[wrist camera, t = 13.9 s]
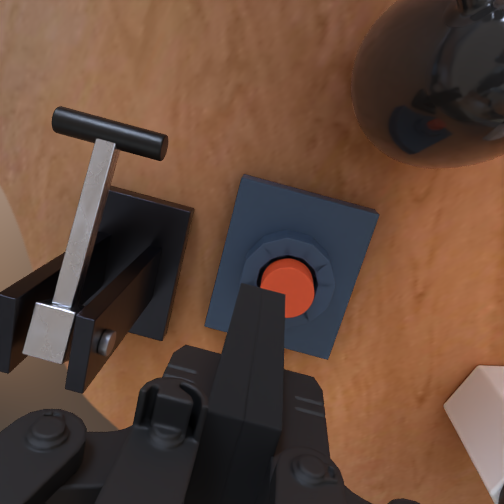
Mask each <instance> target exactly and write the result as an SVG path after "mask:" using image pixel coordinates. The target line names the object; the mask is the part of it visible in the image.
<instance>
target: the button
mask: <svg viewBox="0 0 504 504" xmlns="http://www.w3.org/2000/svg"><path fill="white" fill-rule="evenodd" d="M260 288H263V289H267V290H271V291H275V292H278V293H282V294H286V295H285V318H292V317H296V316H299V315H301V314H303V313H304V312H305V311H307V310H308V309H309V307H310V306H311V304H312V302H313V300H314V294H315V293H314V284H313V278H312V274H311V272H310V270H309V269H308V268H307V266H306V265H304V264H303V263H302V262H300V261H298V260H295V259H291V258H283V259H279V260H276V261H274V262H272V263H271V264H270V265H269V266H268V267H267V268H266V269H265V271H264V273H263V275H262V280H261V286H260Z"/></svg>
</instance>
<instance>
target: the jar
mask: <svg viewBox="0 0 504 504" xmlns="http://www.w3.org/2000/svg"><path fill="white" fill-rule="evenodd" d="M443 407H444V409H445V411H446V413H447V415H448V417H449V419H450V421H451V422H452V424H453V426H454V428H455V430H456V432H457V434H458V436H459V438H460V439H461V441H462V443H463V445H464V447H465V449H466V451H467V453H468V455H469V456H470V458H471V460H472V462H473V464H474V466H475V468H476V470H477V472H478V473H479V475H480V477H481V479H482V481H483V483H484V485H485V487H486V489H487V490H488V492H489V494H490V496H491V498H492V500H493V502H494V504H504V366H489V365H478V366H477V367H476V368H475V369H474V370H473V371H472V372H471V374H470V375H469V376H468V377H467V378H466V379H465V381H464V382H463V383H462V384H461V385H460V386H459V388H458V389H457V390H456V391H455V392H454V393H453V394H452V396H451V397H450V398H449V399H448V400H447V401H446V402H445V404H444V406H443Z"/></svg>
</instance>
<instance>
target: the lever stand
mask: <svg viewBox="0 0 504 504" xmlns="http://www.w3.org/2000/svg"><path fill="white" fill-rule="evenodd" d="M193 213H194V208H191V207H187V206H183V205H180V204H176V203H172V202H169V201H165V200H161V199H158V198H154V197H150V196H147V195H143V194H139V193H136V192H132V191H128V190H124V189H121V188H117V187H113V186H110V189H109V193H108V197H107V200H106V204H105V208H104V211H103V215H102V219H101V222H100V226H99V230H98V234H97V237H96V241H95V245H94V248H93V252H92V256H91V259H90V263H89V267H88V270H87V274H86V278H85V282H84V285H83V289H82V293H81V296H80V300H79V304H81V305H85V307H84V308H83V309H82V310H81V311H80V312H79V313H78V314H77V315H76V318H75V325H74V331H73V338H72V345H71V351H70V358H69V365H68V371H67V378H66V385H65V389H67V390H71V391H74V392H78V393H82V394H83V393H84V391H85V390H86V389H87V387H88V386H89V384H90V383H91V382H92V380H93V379H94V378H95V376H96V375H97V374H98V372H99V371H100V369H101V368H102V367H103V365H104V364H105V363H106V361H107V360H108V359H109V357H110V356H111V355H112V353H113V352H114V350H115V349H116V348H117V346H118V345H119V344H120V342H121V341H122V340H123V338H124V337H125V335H126V334H127V333H128V332H130V333H133V334H137V335H141V336H144V337H148V338H152V339H155V340H159V341H163V339H164V337H165V335H166V334H167V329H168V325H169V320H170V316H171V311H172V307H173V302H174V298H175V293H176V289H177V284H178V280H179V276H180V271H181V267H182V262H183V258H184V253H185V249H186V244H187V240H188V235H189V231H190V226H191V222H192V217H193ZM64 256H65V252H64V253H63V254H61V255H59V256H58V257H56V258H55V259H53V260H51V261H50V262H48V263H47V264H45V265H43V266H42V267H40V268H39V269H37V270H35V271H34V272H32V273H30V274H29V275H27V276H26V277H24V278H23V279H21V280H19V281H18V282H16V283H14V284H13V285H11V286H10V287H8V288H6V289H5V290H3V291H2V292H0V372H4V373H10V372H11V371H12V370H13V369H14V368H15V367H16V366H17V365H18V364H19V363H20V362H22V361H23V360H24V359H25V358H26V357H27V356H28V355H25V354H22V350H23V346H24V343H25V339H26V335H27V332H28V328H29V324H30V321H31V317H32V313H33V310H34V306H35V303H36V302H39V301H43V300H47V299H51V298H53V296H54V293H55V289H56V285H57V281H58V278H59V274H60V270H61V267H62V263H63V259H64Z"/></svg>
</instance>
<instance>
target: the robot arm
mask: <svg viewBox="0 0 504 504" xmlns="http://www.w3.org/2000/svg"><path fill="white" fill-rule="evenodd" d="M285 295H286V294H282V293H278V292H275V291H271V290H267V289H263V288H259V287H256V286H252V285H248V284H244V283H241V286H240V289H239V293H238V296H237V300H236V303H235V307H234V311H233V314H232V318H231V321H230V325H229V329H228V332H227V336H226V339H225V343H224V346H223V350H222V354H219V353H215V352H211V351H208V350H204V349H200V348H196V347H193V346H189V345H185V346H183V347H182V348H180V349H179V350H177V351H176V352H174V353H173V355H172V357H171V359H170V361H169V363H168V366H167V368H166V370H165V372H164V374H163V377H162V378H156V379H154V380H152V381H149V382H147V383H146V384H145V385H144V386H143V387H142V388H141V389H140V392H139V397H138V402H137V407H136V412H135V417H134V422H133V425H132V426H130V427H128V428H126V429H122V430H118V431H111V432H87V428H86V426H85V425H84V423H83V421H82V419H80V418H79V417H77V416H76V415H75V414H73V413H71V412H68V411H64V410H61V409H43V410H39V411H34V412H30V413H28V414H27V415H25V416H23V417H21V418H19V419H17V420H16V421H14V422H13V423H12V424H10V425H9V426H8V427H6V428H5V429H4V430H2V431H1V432H0V504H372V503H370V502H368V501H366V500H364V499H362V498H361V497H359V496H358V495H356V494H355V493H353V492H352V491H351V490H349V489H348V488H347V487H346V486H345V485H344V481H343V478H342V475H341V472H340V470H339V468H338V467H337V466H336V465H335V463H334V462H333V461H332V460H331V459H330V452H329V443H328V435H327V426H326V418H325V408H324V400H323V391H322V389H321V388H320V386H319V385H318V383H317V381H316V380H315V378H314V377H311V376H308V375H304V374H300V373H296V372H292V371H289V370H285V369H284V335H285ZM388 504H420V503H418V502H416V501H412V500H408V499H404V498H402V499H395V500H391V501H390V502H389V503H388Z"/></svg>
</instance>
